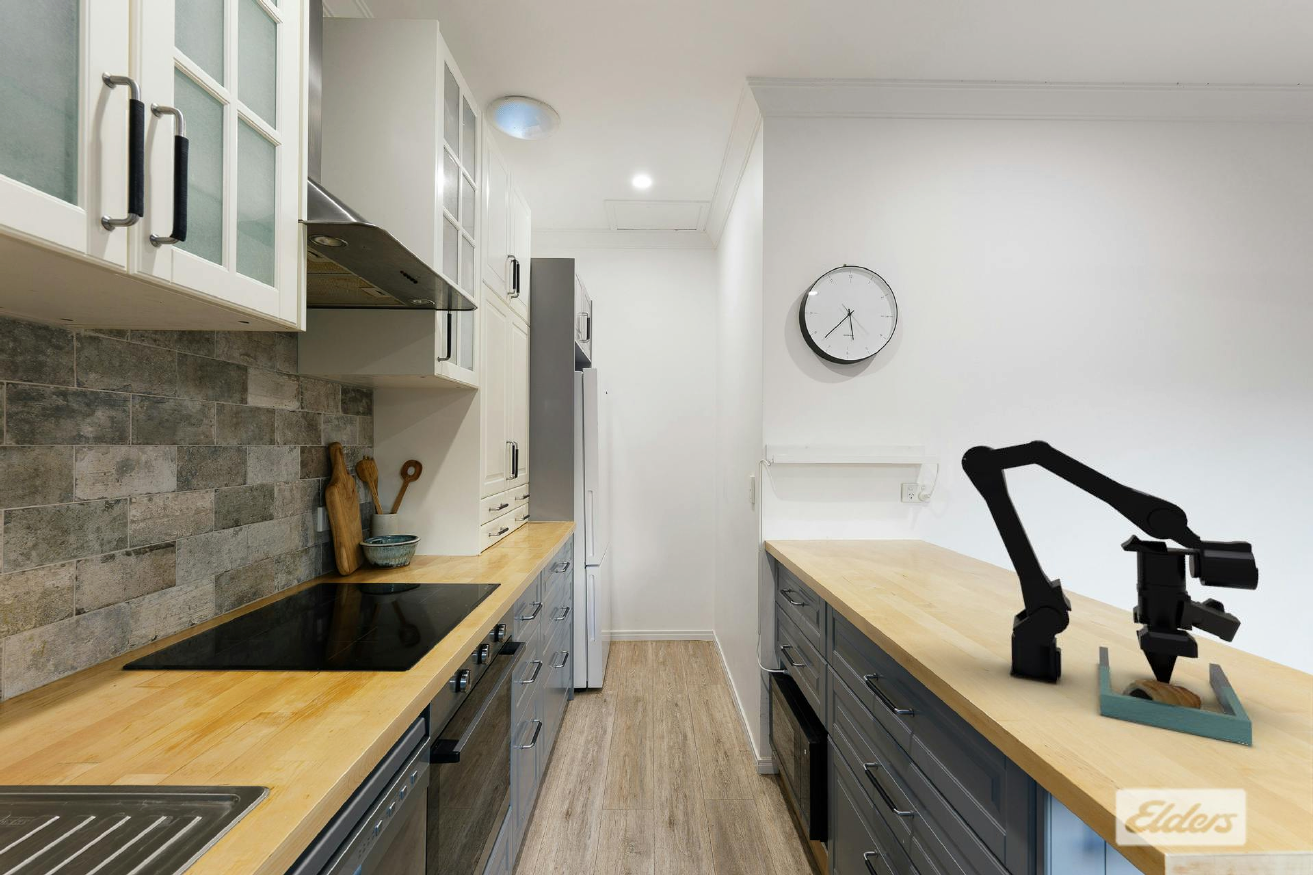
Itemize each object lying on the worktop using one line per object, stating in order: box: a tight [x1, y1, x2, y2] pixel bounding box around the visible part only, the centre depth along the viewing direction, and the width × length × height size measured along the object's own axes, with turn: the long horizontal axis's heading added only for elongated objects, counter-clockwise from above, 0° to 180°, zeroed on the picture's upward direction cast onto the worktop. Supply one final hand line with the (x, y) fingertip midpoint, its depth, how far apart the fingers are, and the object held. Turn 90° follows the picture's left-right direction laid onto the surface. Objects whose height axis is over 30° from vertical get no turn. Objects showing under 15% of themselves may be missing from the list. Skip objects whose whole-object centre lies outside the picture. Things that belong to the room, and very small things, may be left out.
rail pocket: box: [1098, 645, 1253, 746], centre depth 91 cm, size 15×24×3 cm, turn 144°
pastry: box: [1122, 679, 1203, 710], centre depth 88 cm, size 9×7×4 cm
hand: (1163, 685), depth 91 cm, fingers closed
